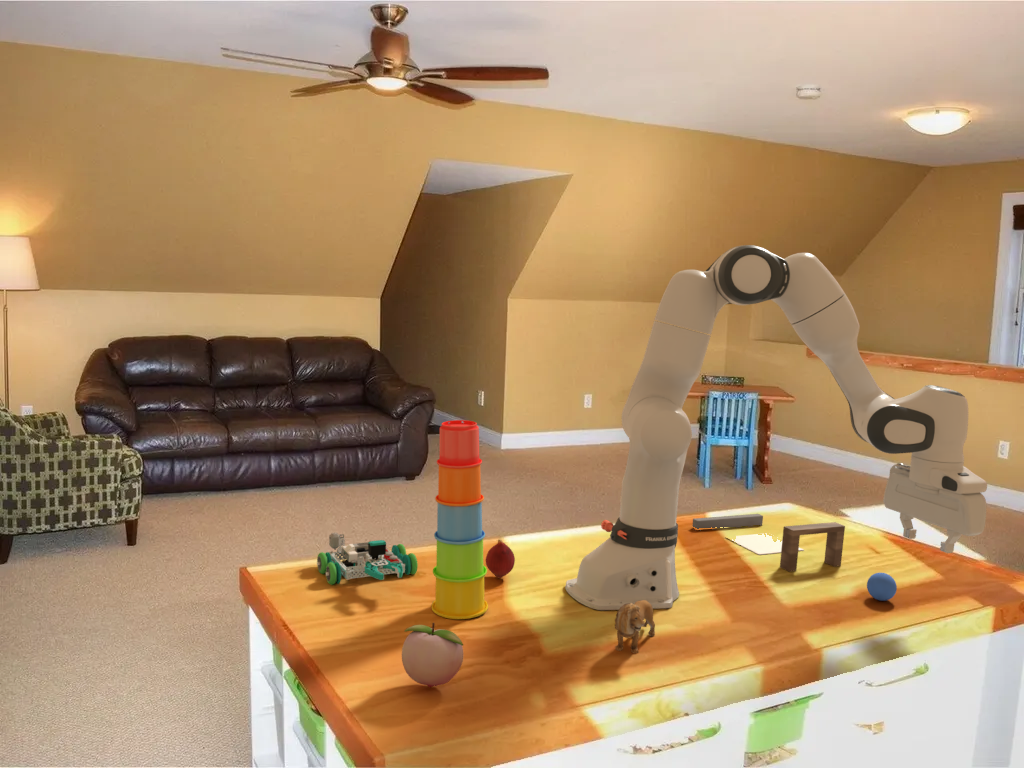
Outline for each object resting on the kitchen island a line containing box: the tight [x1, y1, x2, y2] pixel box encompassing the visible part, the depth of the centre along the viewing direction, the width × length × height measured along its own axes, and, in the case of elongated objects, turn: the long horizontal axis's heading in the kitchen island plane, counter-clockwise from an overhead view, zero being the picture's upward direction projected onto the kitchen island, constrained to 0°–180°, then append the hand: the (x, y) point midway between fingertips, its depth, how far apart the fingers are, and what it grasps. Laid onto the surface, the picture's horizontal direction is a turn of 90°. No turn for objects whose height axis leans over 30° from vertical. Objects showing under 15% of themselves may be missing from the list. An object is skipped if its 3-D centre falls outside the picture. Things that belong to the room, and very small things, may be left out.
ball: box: [866, 572, 898, 602], centre depth 173 cm, size 6×6×6 cm
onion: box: [485, 538, 516, 579], centre depth 174 cm, size 6×6×8 cm
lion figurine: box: [614, 600, 656, 654], centre depth 146 cm, size 15×5×9 cm, turn 159°
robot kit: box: [316, 532, 419, 586], centre depth 170 cm, size 19×25×9 cm
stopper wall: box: [691, 513, 764, 529], centre depth 219 cm, size 20×2×2 cm, turn 113°
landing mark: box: [731, 532, 805, 556], centre depth 206 cm, size 13×13×1 cm
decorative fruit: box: [401, 622, 464, 688], centre depth 127 cm, size 9×8×10 cm
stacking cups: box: [431, 419, 489, 620], centre depth 156 cm, size 10×10×35 cm
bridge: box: [779, 521, 846, 572], centre depth 191 cm, size 3×14×9 cm, turn 113°
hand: (927, 544), depth 163 cm, fingers open, 7 cm apart
